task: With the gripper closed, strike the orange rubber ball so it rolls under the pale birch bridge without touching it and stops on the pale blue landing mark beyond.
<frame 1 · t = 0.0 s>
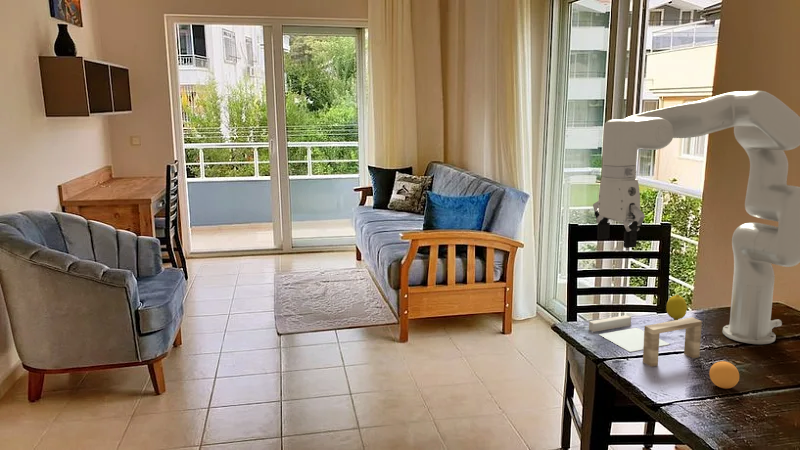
hand: (616, 242, 143), 31 cm above the table, tool pointing down, fingers open, 9 cm apart
ball: (724, 374, 134), on the table
landing mark: (633, 339, 163), on the table
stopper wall: (610, 327, 172), on the table
bridge: (671, 359, 150), on the table
lemon: (675, 321, 176), on the table
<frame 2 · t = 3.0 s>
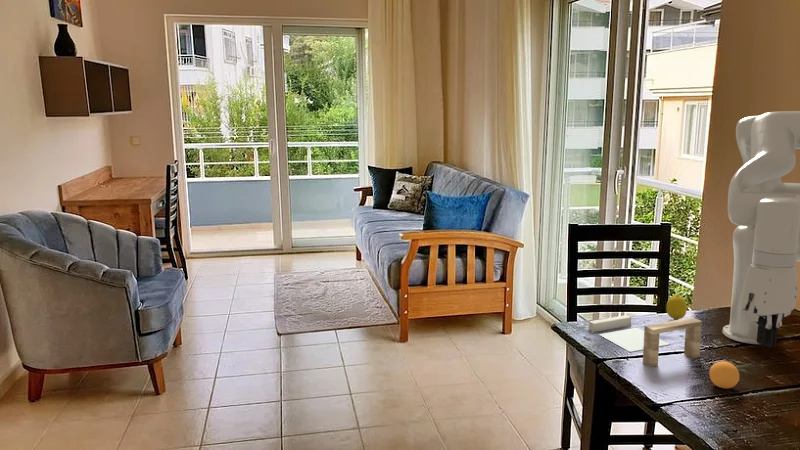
hand: (766, 344, 123), 14 cm above the table, tool pointing down, fingers closed
nothing on the table moved.
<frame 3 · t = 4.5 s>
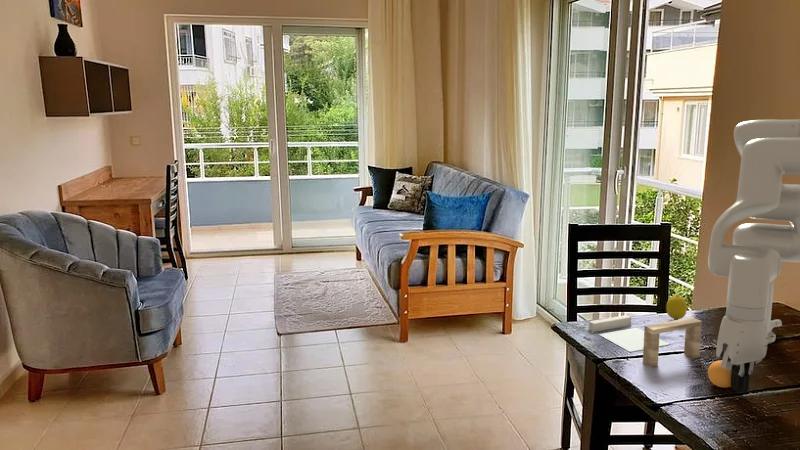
hand: (739, 389, 131), 1 cm above the table, tool pointing down, fingers closed
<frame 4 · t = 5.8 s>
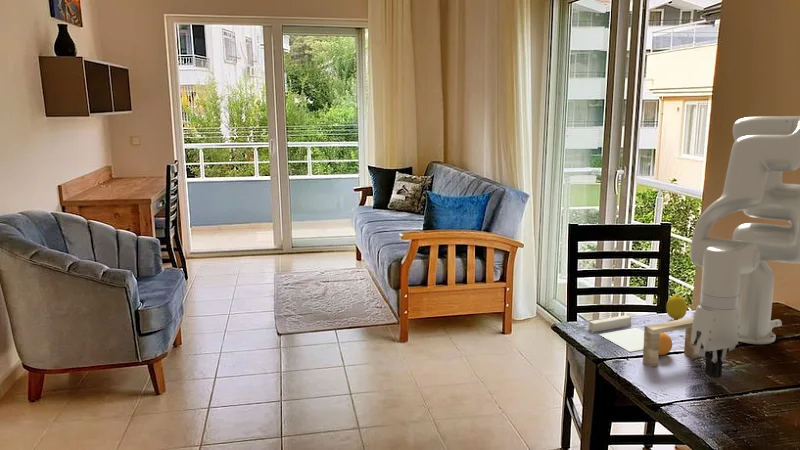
hand: (713, 375, 137), 2 cm above the table, tool pointing down, fingers closed
ball: (659, 343, 152), on the table
everything else where it was.
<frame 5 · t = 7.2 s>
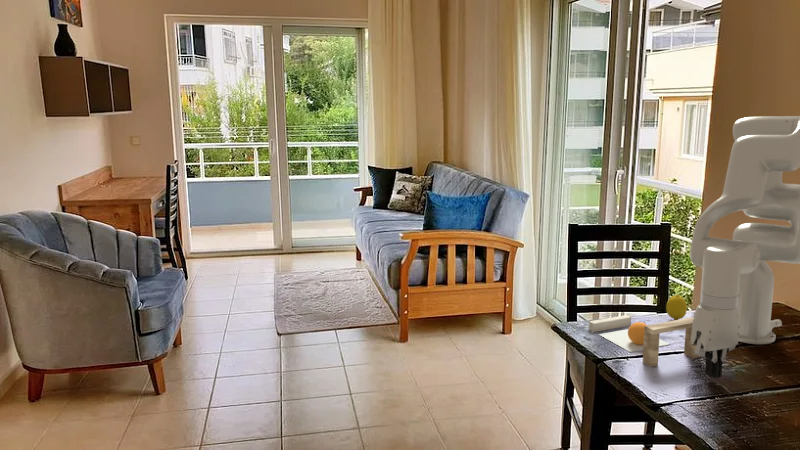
hand: (713, 375, 137), 2 cm above the table, tool pointing down, fingers closed
ball: (639, 333, 159), on the table
everything else where it was.
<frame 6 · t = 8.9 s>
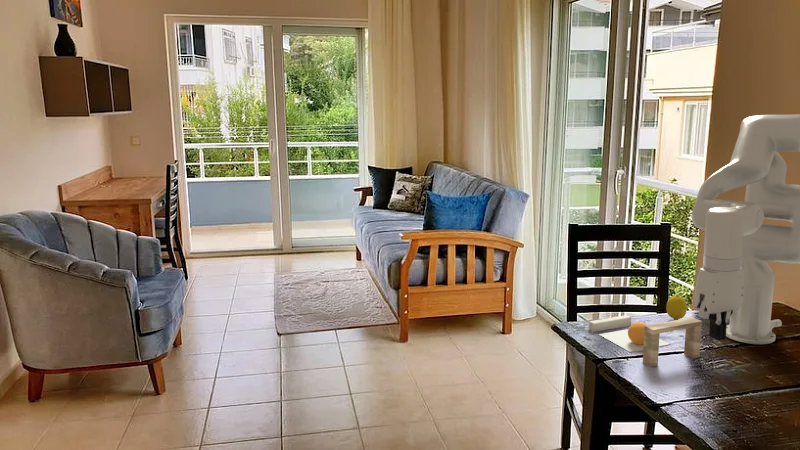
hand: (717, 337, 136), 10 cm above the table, tool pointing down, fingers closed
nothing on the table moved.
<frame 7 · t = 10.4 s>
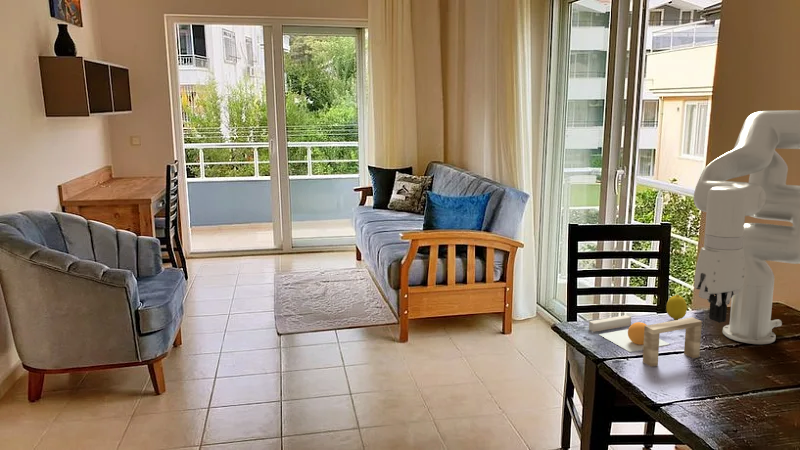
hand: (717, 320, 134), 15 cm above the table, tool pointing down, fingers closed
nothing on the table moved.
at the end: ball 2.9 cm from the landing mark (horizontally); ball never touched bridge; ball at rest at the end (0.0 cm/s) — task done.
